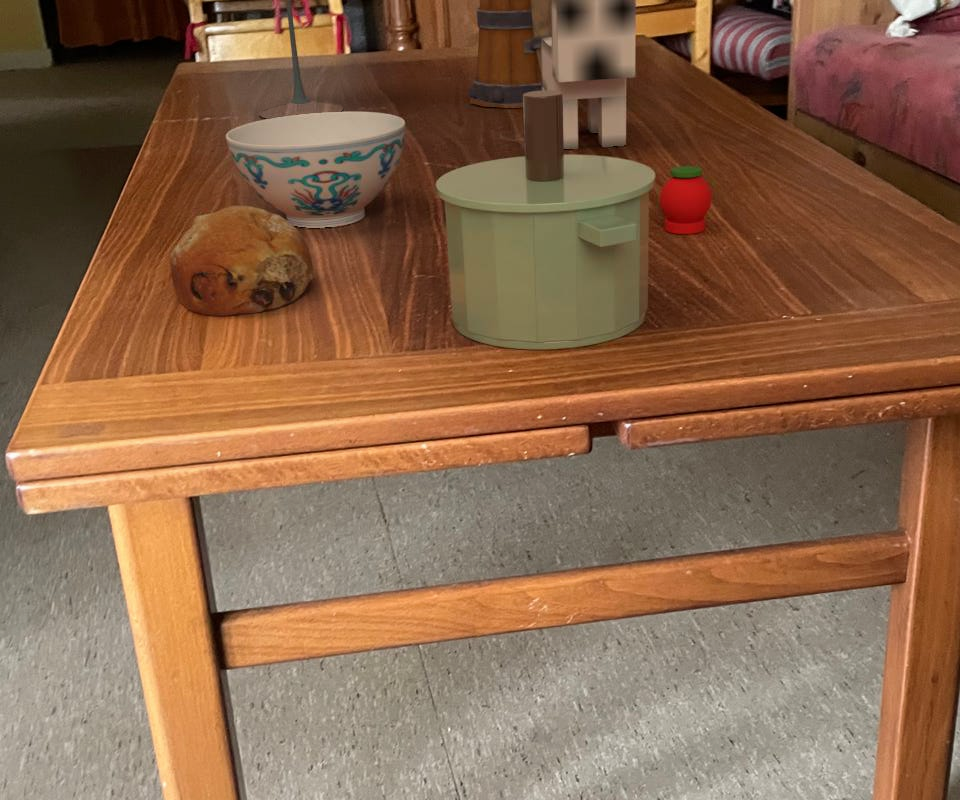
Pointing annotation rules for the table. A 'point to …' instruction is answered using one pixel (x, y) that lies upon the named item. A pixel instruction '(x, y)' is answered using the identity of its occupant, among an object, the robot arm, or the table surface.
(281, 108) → the table surface
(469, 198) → the lid
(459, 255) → the pot
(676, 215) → the red rounded jar
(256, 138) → the chinaware
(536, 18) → the mug
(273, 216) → the bread roll
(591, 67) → the toy llama
